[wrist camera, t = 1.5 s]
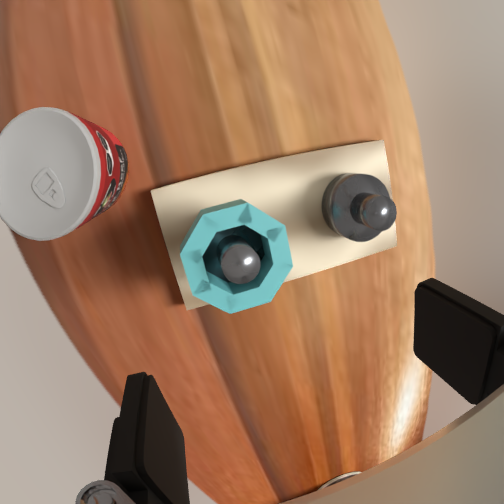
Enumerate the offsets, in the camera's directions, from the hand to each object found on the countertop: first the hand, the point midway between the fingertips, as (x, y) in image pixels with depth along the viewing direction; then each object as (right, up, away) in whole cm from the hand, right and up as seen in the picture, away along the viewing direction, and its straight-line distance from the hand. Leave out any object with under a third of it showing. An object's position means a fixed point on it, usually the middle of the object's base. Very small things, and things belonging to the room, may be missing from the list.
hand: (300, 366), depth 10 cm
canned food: (-16, +11, +15) cm, 25 cm away
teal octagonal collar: (-3, +4, +13) cm, 14 cm away
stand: (-4, +5, +18) cm, 19 cm away
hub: (+8, +8, +19) cm, 22 cm away
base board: (+2, +7, +20) cm, 21 cm away
